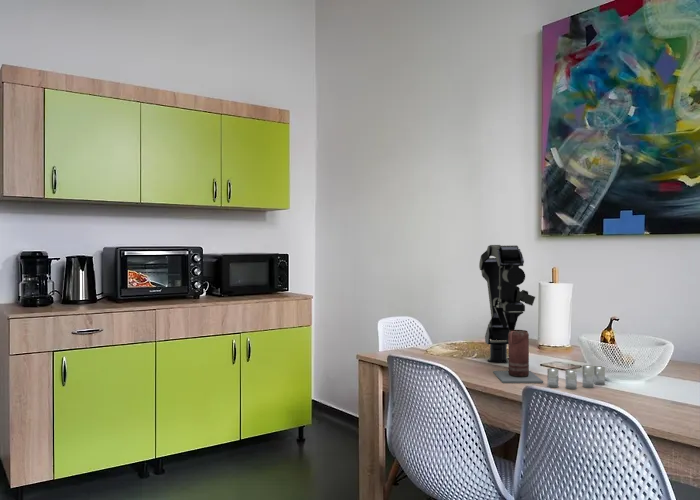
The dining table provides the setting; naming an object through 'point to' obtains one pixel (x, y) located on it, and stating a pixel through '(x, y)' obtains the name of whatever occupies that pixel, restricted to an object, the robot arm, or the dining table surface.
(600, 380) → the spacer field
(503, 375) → the mat
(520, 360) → the can
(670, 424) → the dining table surface
